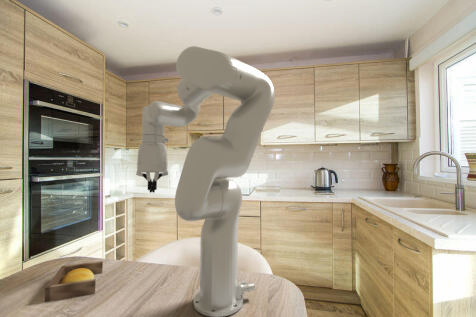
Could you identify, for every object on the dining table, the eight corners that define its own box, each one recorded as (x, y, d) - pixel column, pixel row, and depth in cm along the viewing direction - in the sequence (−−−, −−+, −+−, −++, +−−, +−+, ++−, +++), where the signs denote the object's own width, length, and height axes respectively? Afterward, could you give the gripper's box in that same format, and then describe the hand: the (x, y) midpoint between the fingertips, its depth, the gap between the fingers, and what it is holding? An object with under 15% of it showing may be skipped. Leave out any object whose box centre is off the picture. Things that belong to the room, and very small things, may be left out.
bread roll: (55, 296, 63) (56, 281, 63) (63, 281, 71) (64, 267, 72) (92, 289, 67) (92, 275, 67) (95, 275, 75) (95, 263, 75)
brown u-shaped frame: (102, 271, 77) (102, 260, 77) (94, 293, 64) (95, 280, 64) (61, 277, 73) (62, 266, 73) (44, 302, 60) (45, 288, 60)
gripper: (173, 142, 92) (172, 190, 91) (130, 140, 86) (129, 191, 86) (175, 141, 85) (174, 192, 84) (129, 139, 79) (128, 194, 79)
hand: (152, 192), depth 85 cm, fingers closed
